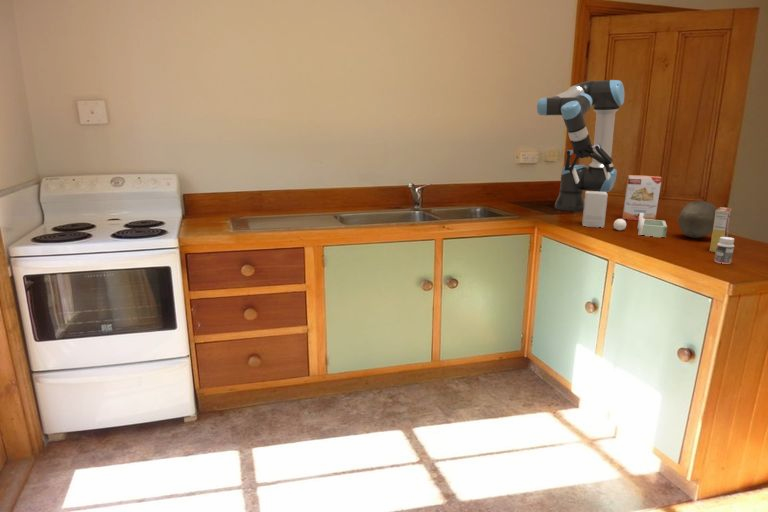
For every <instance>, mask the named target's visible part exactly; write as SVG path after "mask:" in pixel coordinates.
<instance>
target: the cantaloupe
mask: <svg viewBox="0 0 768 512" xmlns="http://www.w3.org/2000/svg"><path fill="white" fill-rule="evenodd" d="M717 209H718V208H717V206H715V204H712V203H710V202H708V201H705V200H704V201H703V200H695V201H691V202H689V203H687V204H686V205H684V207H683V208H682V210H681V212H680V214H679V216H678V225H679V228H680V231H681V232H682V234H684V235H686V237H689V238H691V239H699V238H703V237H706V236H708V235H710V234H712V231H713V225H714V219H715V212H716V210H717Z"/></svg>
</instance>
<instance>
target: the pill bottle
mask: <svg viewBox="0 0 768 512" xmlns="http://www.w3.org/2000/svg"><path fill="white" fill-rule="evenodd" d="M734 243H735V238H734V237H729V236H727V237H720V240H719V243H718V244H717V248H716V252H715V254H714V262H715V263H717V264H721V263H722V264H723V265H730V264H731V263H732V259H733V255H734V249H735V245H734ZM722 264H721V265H722Z"/></svg>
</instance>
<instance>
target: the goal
mask: <svg viewBox="0 0 768 512" xmlns="http://www.w3.org/2000/svg"><path fill="white" fill-rule="evenodd" d="M643 216H644V213H640V215H639V221H638V222H637V223H638V224H637V230H638V234H637V236H639V235H645V236H644V237H650V236H653V237H652V238H661V237H665V238H664V239H666V238H667V231H668V225H667V223H666V220H664V219H663V220H662V219H660V220H659V219H655V220H652V219H644V218H643Z"/></svg>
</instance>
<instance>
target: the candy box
mask: <svg viewBox="0 0 768 512" xmlns="http://www.w3.org/2000/svg"><path fill="white" fill-rule="evenodd" d="M732 211H733V208H732V207H722V206H720V207H718V208H717V210H716V212H715V219H714V225H713V231H712V232H711V240H710V246H709V252H710V251H711V252H710V253H716V248H717V244H718V243H719V240H720V237H729V236H728V235H729V229H730V224H731V217H732Z"/></svg>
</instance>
